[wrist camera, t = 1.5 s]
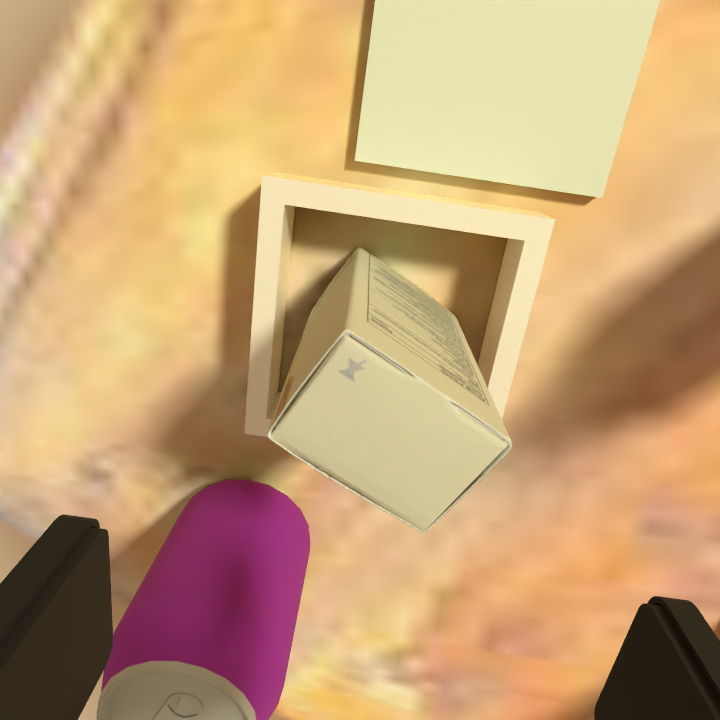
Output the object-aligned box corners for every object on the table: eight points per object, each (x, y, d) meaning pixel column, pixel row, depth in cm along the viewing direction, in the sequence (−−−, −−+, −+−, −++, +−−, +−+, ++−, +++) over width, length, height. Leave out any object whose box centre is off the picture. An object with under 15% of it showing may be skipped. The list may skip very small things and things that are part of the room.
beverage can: (207, 450, 31) (103, 627, 19) (333, 501, 31) (303, 698, 20) (168, 549, 33) (57, 754, 22) (285, 593, 34) (235, 811, 23)
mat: (597, 196, 25) (602, 197, 24) (355, 160, 25) (354, 160, 24) (695, -139, 20) (704, -148, 20) (399, -185, 20) (399, -194, 20)
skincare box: (308, 312, 27) (250, 433, 16) (359, 242, 26) (335, 319, 15) (410, 384, 28) (424, 544, 17) (464, 319, 27) (519, 447, 16)
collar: (478, 438, 29) (488, 469, 27) (257, 406, 29) (244, 433, 27) (536, 211, 25) (555, 219, 22) (276, 171, 25) (261, 175, 22)
